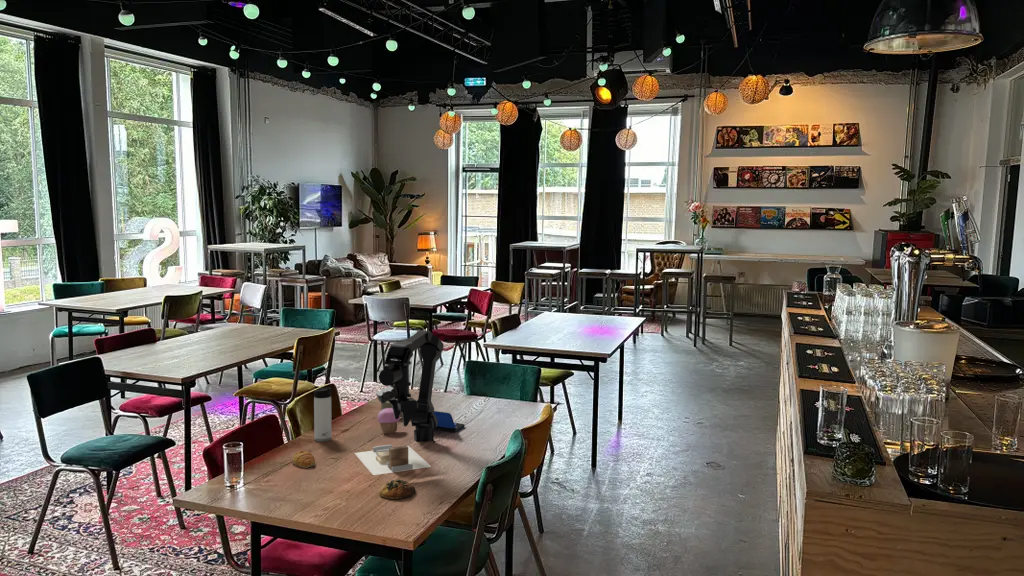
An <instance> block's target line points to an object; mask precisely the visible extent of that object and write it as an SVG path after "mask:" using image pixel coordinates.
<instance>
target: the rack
mask: <svg viewBox="0 0 1024 576" xmlns="http://www.w3.org/2000/svg"><path fill="white" fill-rule="evenodd" d="M406 446H407V447H408V464H406V465H400V466H393V467H391V470H390V469H389V462H388V463H383V464H380V463H379V462H378V461H377V460H376V456H377V452H385V451H389V448H392V447H393V444H384V445H377V446H372V450H368V451H361V452H359V451H358V452H354V454H355V456H356V457H357V458H358V459H359V460H360V462H361V463H362V464H363V466H365V468H366V469H367V470H368V471H369V473H371V475H372V476H377V475H384V474H386V475H387V474H392V473H398V472H404V471H405V472H407V471H412V470H418V469H427V468H431V467H432V465H430V464H429V463H428V462H427V461H426V460H425V459H424V458H423V457H422V456H420V454H418V453H417V451H415V450H414V449H413V448H412V447H410V445H406Z"/></svg>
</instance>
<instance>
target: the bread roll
mask: <svg viewBox="0 0 1024 576" xmlns="http://www.w3.org/2000/svg"><path fill="white" fill-rule="evenodd" d="M415 494H416V487H415V486H414V484H412V483H411V482H410V483H409V481H407V480H403V479H396V480H395V479H391V480H390V481H387V482H385V484H383V486H382V487H380V488H379V491H378V495H380V496H381V497H382V498H384V499H386V500H387V499H388V500H393V501H394V500H400V499H402V500H403V499H407V498H410V497H413V496H414V495H415Z"/></svg>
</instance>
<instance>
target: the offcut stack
mask: <svg viewBox="0 0 1024 576" xmlns="http://www.w3.org/2000/svg"><path fill="white" fill-rule="evenodd" d="M376 460H377V461H378V462H379V463H380V464H383V463H388V462H389V451H385V452H377V456H376Z"/></svg>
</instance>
